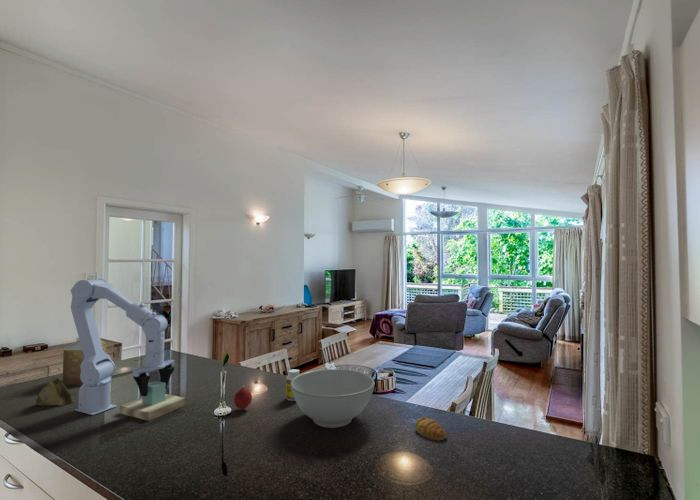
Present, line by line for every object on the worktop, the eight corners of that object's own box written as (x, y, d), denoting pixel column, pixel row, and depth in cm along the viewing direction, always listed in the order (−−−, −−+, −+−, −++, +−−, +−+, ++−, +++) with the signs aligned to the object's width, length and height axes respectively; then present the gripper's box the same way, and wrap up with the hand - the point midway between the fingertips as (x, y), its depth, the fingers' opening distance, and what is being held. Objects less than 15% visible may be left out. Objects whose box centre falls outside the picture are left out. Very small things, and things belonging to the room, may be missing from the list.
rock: (24, 400, 126) (37, 401, 122) (41, 376, 131) (55, 376, 127) (54, 411, 133) (68, 413, 128) (70, 387, 138) (84, 388, 134)
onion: (246, 414, 121) (246, 389, 121) (230, 412, 122) (230, 388, 123) (254, 407, 127) (254, 384, 127) (239, 406, 128) (239, 382, 128)
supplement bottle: (283, 400, 133) (283, 372, 133) (289, 395, 139) (289, 368, 139) (298, 402, 132) (298, 373, 132) (303, 396, 137) (303, 369, 138)
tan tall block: (88, 385, 149) (89, 338, 150) (62, 384, 149) (63, 337, 150) (105, 377, 160) (106, 333, 161) (81, 376, 160) (83, 332, 161)
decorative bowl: (391, 418, 118) (391, 380, 119) (331, 449, 99) (331, 403, 99) (333, 397, 136) (333, 364, 137) (272, 420, 117) (273, 381, 117)
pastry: (452, 438, 106) (451, 424, 106) (435, 444, 102) (435, 431, 102) (427, 426, 113) (427, 413, 114) (411, 432, 110) (411, 419, 110)
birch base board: (119, 413, 121) (120, 405, 122) (157, 399, 134) (157, 392, 134) (149, 420, 116) (149, 412, 116) (185, 405, 129) (185, 397, 129)
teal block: (142, 403, 124) (142, 385, 124) (155, 398, 128) (155, 380, 129) (152, 405, 122) (152, 387, 122) (165, 400, 126) (165, 382, 126)
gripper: (143, 358, 117) (142, 401, 117) (180, 348, 131) (180, 387, 130) (128, 355, 120) (127, 397, 120) (166, 346, 134) (165, 384, 133)
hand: (153, 392), depth 125 cm, fingers open, 7 cm apart
